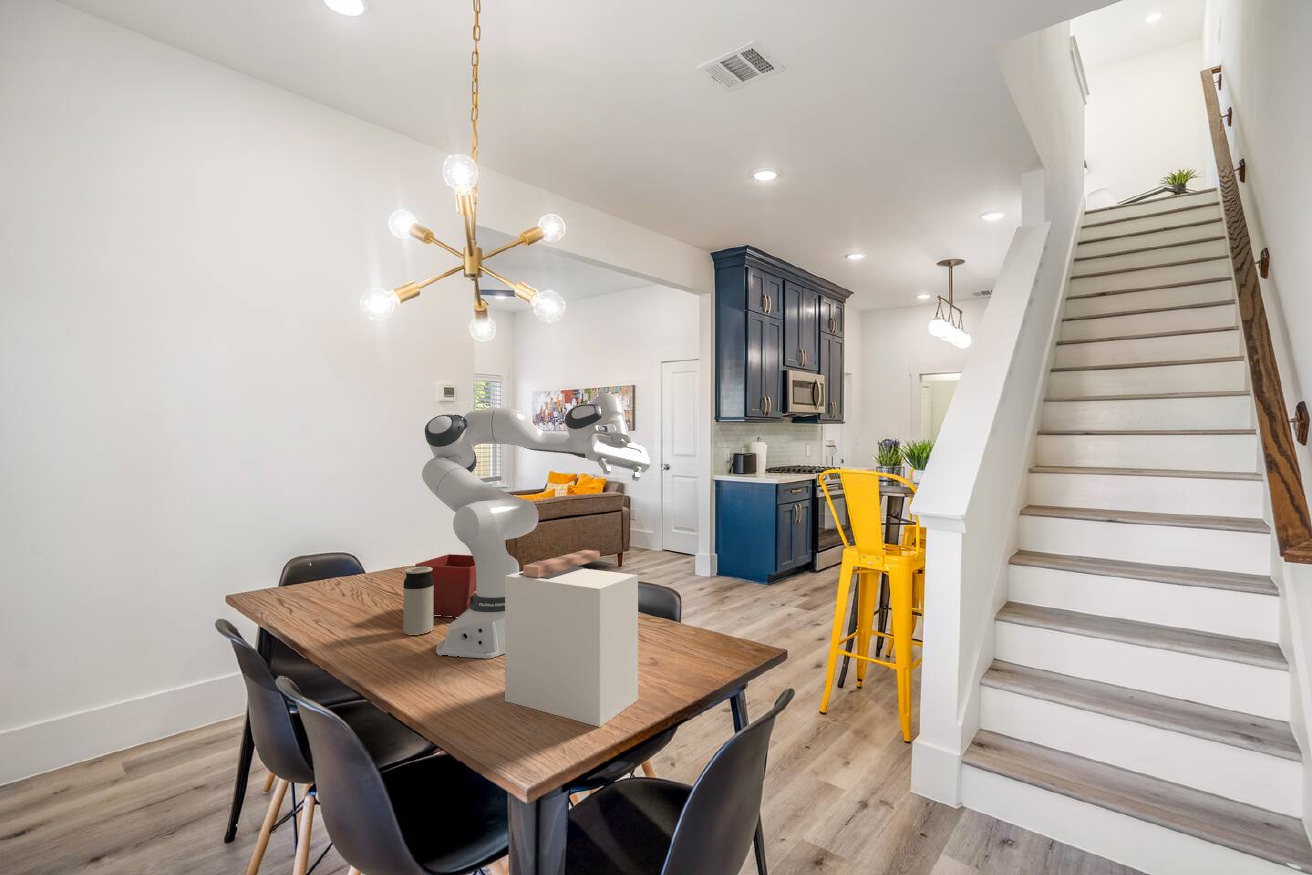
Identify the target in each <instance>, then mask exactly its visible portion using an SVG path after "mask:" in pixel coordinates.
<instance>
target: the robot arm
mask: <svg viewBox="0 0 1312 875" xmlns="http://www.w3.org/2000/svg"><path fill="white" fill-rule="evenodd" d="M564 423H565V427H566V430H567V433H559V432H558V433H556V432H547V431H544V430H542V429H540V428H539V427H538V426H536V424H534V423H533V422H532V421H531V420H530V419H529V417H528V416H527V415H526V414H525V413H524V412H523V411H521V410H519V409H517V408H512V407H490V408H481V409H476V410H472V411H469V412H467V413H465V415H464V416H462V415H460V414H440V415H437V416H434V417H433V418H431V419H430V420H429V421H428V422H427V423H426V425H425V427H424V435H425V436H424V437H425V441H426V442H427V444H428V445H429V448H430V450H431V453H432V454H433V456H434V457H433V458H431V459H430V460H428V461H427V462H426V463H425V465H424V466H423V468H422V471H421V477H422V480H423V482H424V484H425V485H426V486H427V488H428V489H429V490H430V491H431V492H432V493H433V495H435V497H436V498H438V499H439V500H440V501H441V502H442V503H444V505H446V506H447V507H448V508H450V510H452V512H454V513H455V514H454V517H453V522H452V525H453V526H452V528H453V531H454V534H455V536H456V537H457V539H458V540H459V541H460V542H461V543H463V545H465V546H466V547H467V548H468V549H469V551H470V553H471V555H472V556H473V559H474V562H475V567H476V591H474V592H473V593H472V594H471V596H470V597H469V599H468V600H467V601H468V603H467V604H469V609H467V610H466V611H465V612H464V613H462V614H461V615H460V616H459V617H458V618H454V620H453V621H451V623H450V624H449V626H448V628H447V630H446V633H445V634H446V635H445V639H443V640H442V641H440V642H439V643H438V644H437V646H436V648H435V653H437V654H438V655H437V654H436V655H437V656H442V655H448V656H447V657H457V656H459V657H460V658H473V659H474V658H476V659H492V658H496V657H498V656H501V655H505V576H507V575H510V574H514V573H518V572H520V564H519V562H518V560H517V559H516V558H515V557H514V556H512V555H510V554H509V552H508V550H507V546H506V541H507V540H513V539H517V538H521V537H523V536H525V535H527V534H529V533H531V532H533V531H534V530H535V529H536V528H537V525H538V522H539V519H540V518H539V517H540V516H539V511H538V509H537V506H536V504H535V503H534V502H533V501H532V500H529V499H526V498H522V497H518V496H516V495H513V494H510V493H509V492H506V491H504V490H501V489H500V488H497V487H495V486H493V485H490V484H489V483H486V482H485V481H484V480H482V479H481V478H479V477H478V476H476V475H475V474H474V473H473V471H474V470H475V469H476V467H477V464H478V462H477V460H478V458H477V455H476V452H475V451H474V448H473V447H475V446H478V445H480V444H487V445H488V444H489V445H491V444H492V445H502V444H503V445H510V446H517V447H519V448H520V447H522V448H523V449H526V450H531V451H536V452H537V451H538V452H539V451H540V452H545V453H546V452H547V453H557V454H558V453H559V454H566V455H567V454H568V455H572V456H576V457H578V458H581V459H587V460H588V461H592V462H595V463H596V462H597V463H598V465H599V466H600V468H601V470H602V472H603V473H602V474H604V475H607V476H610V475H611V473H612V469H611V468H612V467H611V466H614V467H619V468H623V469H627V470H630V471H633V474H632V475H631V479H632V481H635V482H638V481H640V480H641V475H640V473H645V472H646V471H648V470H649V468H650V467H651V466H652V463H651V459H650V456H649V454H648V451H647V450H646V448H645V447H643V446H642V445H641V444H639V443H634V442H631V436H630V432H629V428H628V425H627V423H626V413H625V409H624V406H623V404H622V402H621V399H620V398H619V397H618V396H617V395H614V394H612V393H601V394H598V395H597V396H596V397H595V398H594V399H593V400H592V401H590V402H588V403H585V404H579V405H576V406H573V407H572V408H570V409H569V410H568V411H567V413H566V414H565V416H564Z"/></svg>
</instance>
